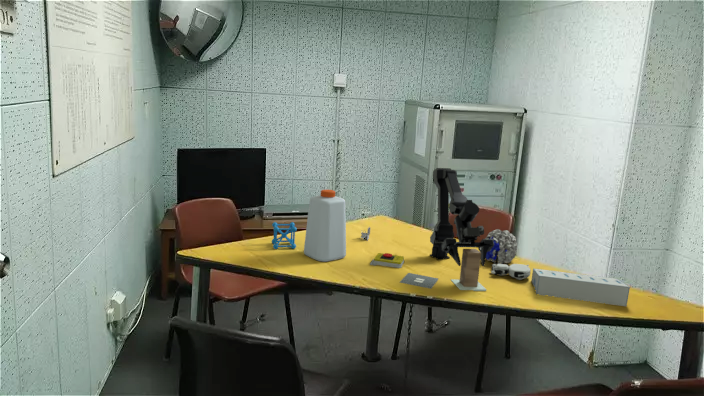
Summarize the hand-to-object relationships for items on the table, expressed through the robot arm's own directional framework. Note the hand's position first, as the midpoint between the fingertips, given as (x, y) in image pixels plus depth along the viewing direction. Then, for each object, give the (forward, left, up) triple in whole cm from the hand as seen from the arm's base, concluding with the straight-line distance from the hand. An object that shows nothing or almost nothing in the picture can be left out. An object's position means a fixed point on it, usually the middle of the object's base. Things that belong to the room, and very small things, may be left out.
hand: (471, 265), depth 180 cm
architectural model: (+5, -66, -9) cm, 67 cm away
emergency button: (+12, -33, -9) cm, 37 cm away
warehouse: (-34, +21, -9) cm, 41 cm away
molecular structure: (+41, -72, -9) cm, 83 cm away
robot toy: (-25, -2, -9) cm, 27 cm away
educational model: (-37, -18, -9) cm, 42 cm away
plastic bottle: (+31, -53, -9) cm, 62 cm away
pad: (-1, -1, -8) cm, 8 cm away
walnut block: (-1, -1, -8) cm, 8 cm away
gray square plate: (+14, -13, -8) cm, 20 cm away
